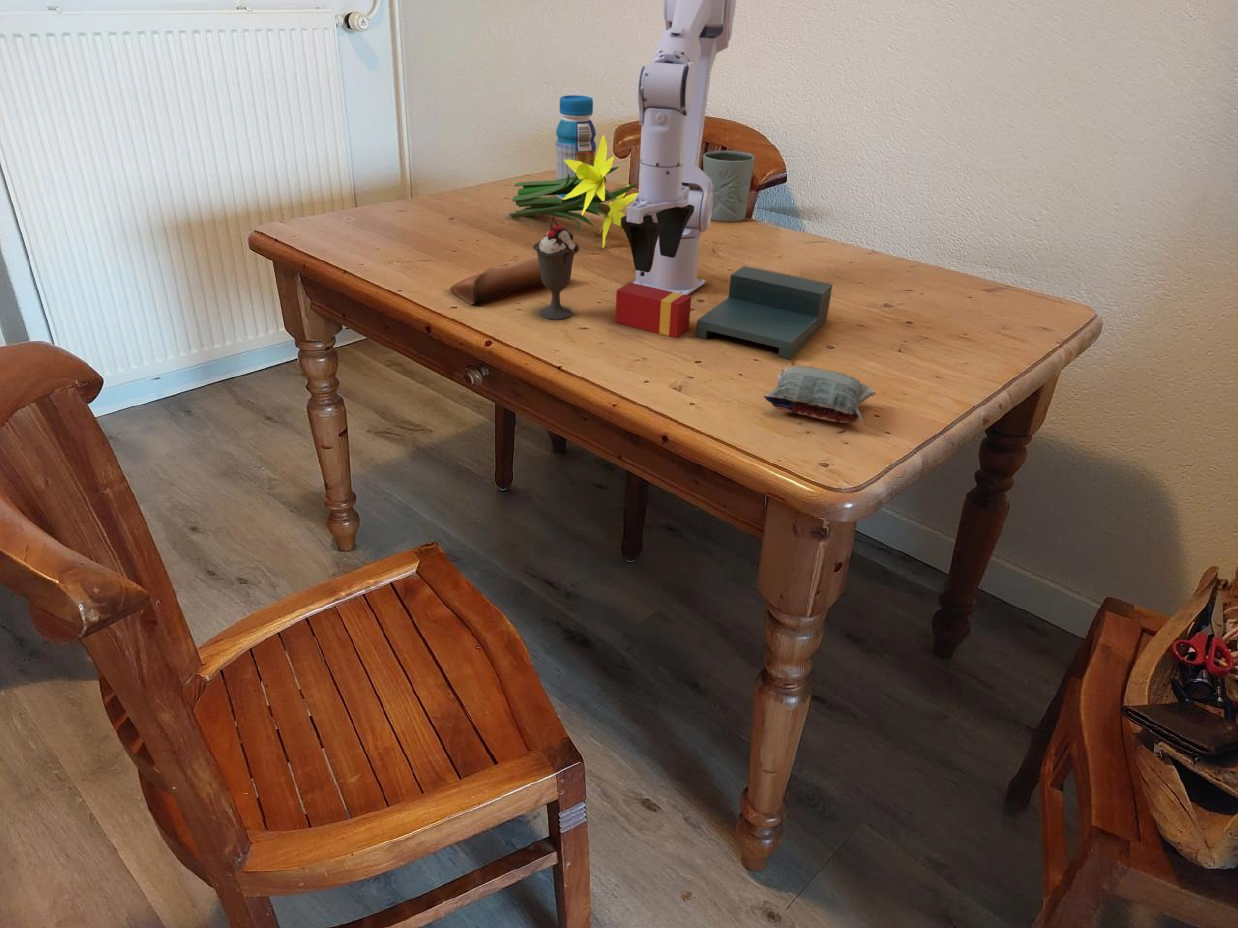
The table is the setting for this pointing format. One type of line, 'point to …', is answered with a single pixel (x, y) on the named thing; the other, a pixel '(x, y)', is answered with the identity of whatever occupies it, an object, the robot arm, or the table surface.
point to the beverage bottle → (575, 134)
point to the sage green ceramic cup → (729, 183)
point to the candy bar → (653, 309)
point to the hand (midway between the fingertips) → (655, 263)
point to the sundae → (556, 267)
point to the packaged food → (819, 394)
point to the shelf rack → (769, 310)
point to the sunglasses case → (498, 281)
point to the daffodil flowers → (584, 181)
